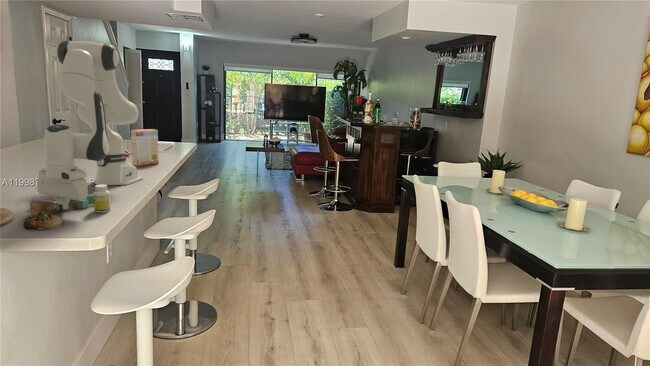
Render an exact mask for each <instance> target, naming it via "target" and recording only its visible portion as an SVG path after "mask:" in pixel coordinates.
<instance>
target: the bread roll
mask: <svg viewBox="0 0 650 366" xmlns="http://www.w3.org/2000/svg"><path fill="white" fill-rule="evenodd" d="M62 223H63V219H62V218H61V217H59V216H57V215H55V214H52V215H50V214H48V213H45V214H44V213H42V212H40V213H38V214H37V215H33V214H32V215H31V214H30V215H29V216H28V217H27V218H25V220H24V221H23V227H24V229H25V230H29V231H30V230H31V231H38V230H42V231H44V230H53V229H56V227H57V228H59V227H60V226H61V225H62ZM58 226H59V227H58Z"/></svg>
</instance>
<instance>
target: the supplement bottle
mask: <svg viewBox="0 0 650 366" xmlns="http://www.w3.org/2000/svg"><path fill="white" fill-rule="evenodd" d="M94 189H95V191H94V192H93V193H92V194H93V195H94V206H93V208H94V209H93V210H94V212H95V213H108V212H110V211H111V195H110V191H109V190H108V185H104V184H100V185H99V184H96V185H94Z"/></svg>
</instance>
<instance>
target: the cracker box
mask: <svg viewBox="0 0 650 366" xmlns="http://www.w3.org/2000/svg"><path fill="white" fill-rule="evenodd" d="M130 139H131V160H132V161H131V164H132V165H133V166H135V167H143V166H144V167H145V166H151V165H152V166H153V165H159V163H160V162H159V158H160V157H159V132H158V129H155V128H151V129H150V128H149V129H148V128H147V129H131V130H130Z"/></svg>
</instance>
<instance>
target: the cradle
mask: <svg viewBox="0 0 650 366" xmlns="http://www.w3.org/2000/svg"><path fill="white" fill-rule="evenodd" d="M91 207H94V195H93V193H89V192H88V196H87V198H86V199H84V200H80V201H77V208H76V209H82V210H85V209H88V208H91Z"/></svg>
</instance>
